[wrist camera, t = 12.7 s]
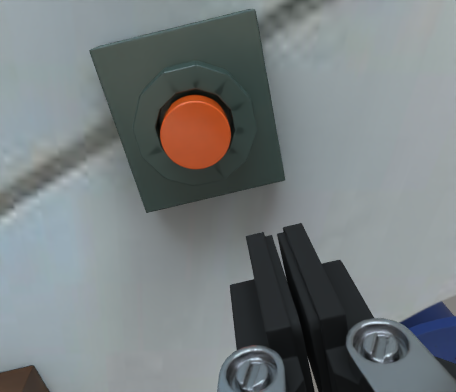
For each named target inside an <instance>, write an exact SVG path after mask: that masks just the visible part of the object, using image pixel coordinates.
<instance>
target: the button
mask: <svg viewBox="0 0 456 392" xmlns="http://www.w3.org/2000/svg"><path fill="white" fill-rule="evenodd" d="M160 140H161V144H162V147H163V149H164V151H165V153H166V154H167V156H168V157H169V158H170V159H171V160H172V161H173V162H175V163H176V164H178V165H180V166H182V167H185V168H188V169H204V168H207V167H210V166H212V165H214V164H216V163H217V162H218V161H220V160H221V159H222V158H223V157H224V155H225V154H226V152H227V150H228V148H229V146H230V142H231V129H230V125H229V122H228V119H227V116H226V113H225V111H224V110H223V108H222V107H221V106H220V105H219V104H218V103H217V102H216V101H214V100H213V99H211V98H209V97H207V96H203V95H197V94H195V95H187V96H184V97H181V98H179V99H177V100H176V101H175V102H173V103H172V104H171V105H170V106H169V108H168V109H167V111H166V113H165V115H164V118H163V121H162V125H161V130H160Z"/></svg>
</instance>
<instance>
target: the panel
mask: <svg viewBox="0 0 456 392" xmlns="http://www.w3.org/2000/svg"><path fill="white" fill-rule="evenodd" d="M0 392H49V391H48V389H47V387H46V386H45V384H44V382H43V381H42V379H41V377H40V376H39V374H38V372H37V371H36V369H35V367H34V366H28V367H24V368H19V369H15V370H11V371H6V372H2V373H0Z"/></svg>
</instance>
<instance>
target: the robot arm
mask: <svg viewBox="0 0 456 392" xmlns="http://www.w3.org/2000/svg"><path fill="white" fill-rule="evenodd" d="M283 231H284V232H283V233H278V234H277V236H278V241H279V245H280V250H281V255H282V260H283V265H284V269H285V274H286V277H285V274H284V271H283V268H282V265H281V262H280V259H279V256H278V253H277V250H276V247H275V244H274V240H273V237H272V235H270V236H265V235H264V232H261V233H257V234H253V235H248V236H246V240H247V245H248V250H249V254H250V259H251V264H252V269H253V274H254V280H249V281H245V282H241V283H236V284H232V285H230V292H231V301H232V311H233V320H234V329H235V338H236V347H237V351H235V352H234V353H232V354H231V355H230V356H229V357H228V358H227V359H226V360H225V362H224V363H223V365H222V367H221V370H220V373H219V381H218V389H217V392H314V387H313V382H312V377H311V372H310V367H309V363H310V366H311V369H312V372H313V375H314V379H315V382H316V385H317V388H318V391H319V392H456V364H454V363H452V362H449V361H446V360H443V359H441V358H438V357H435V356H433V355H432V354H431V353H430V352H429V350H428V349H427V348H426V347H425V346H424V345H423V344H422V343H421V342H420V341H419V340H418V339H417V337H416V336H415V335H414V334H413V333H412V332H411V331H410V330H409V329H407V328H406V327H405V326H404V325H402V324H400V323H398V322H396V321H393V320H388V319H384V318H374V317H373V315H372V313H371V312H370V310H369V308H368V306H367V305H366V303H365V301H364V300H363V298H362V296H361V294H360V293H359V291H358V289H357V287H356V286H355V284H354V282H353V280H352V279H351V277H350V275H349V273H348V272H347V270H346V268H345V266H344V265H343V263H342V262H341V261H340V260H336V261H332V262H327V263H323V264H321V262H320V260H319V258H318V256H317V254H316V252H315V250H314V248H313V246H312V244H311V242H310V239H309V237H308V235H307V233H306V231H305V229H304V227H303V225H302V223H300V224H295V225H291V226H287V227H283ZM286 279H287V280H286ZM307 356H308V357H307ZM308 359H309V362H308Z"/></svg>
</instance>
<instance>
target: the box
mask: <svg viewBox="0 0 456 392" xmlns="http://www.w3.org/2000/svg"><path fill="white" fill-rule="evenodd" d="M90 54H91V57H92V60H93V63H94V66H95V68H96V71H97V74H98V77H99V80H100V83H101V85H102V88H103V91H104V94H105V97H106V100H107V102H108V105H109V108H110V111H111V114H112V117H113V119H114V122H115V125H116V128H117V131H118V134H119V136H120V139H121V142H122V145H123V148H124V151H125V153H126V156H127V159H128V162H129V165H130V168H131V171H132V173H133V176H134V179H135V182H136V185H137V188H138V190H139V193H140V196H141V199H142V202H143V205H144V207H145V210H146V212H147V213H148V212H152V211H157V210H161V209H165V208H169V207H174V206H178V205H182V204H186V203H191V202H195V201H199V200H203V199H208V198H212V197H216V196H220V195H225V194H229V193H233V192H237V191H242V190H246V189H250V188H254V187H259V186H263V185H267V184H271V183H276V182H280V181H284V180H285V176H284V170H283V165H282V159H281V153H280V147H279V142H278V136H277V130H276V125H275V119H274V113H273V108H272V102H271V96H270V90H269V85H268V79H267V73H266V68H265V62H264V56H263V51H262V45H261V39H260V34H259V28H258V22H257V16H256V11H255V10H254V9H248V10H244V11H240V12H236V13H231V14H227V15H223V16H219V17H215V18H211V19H207V20H203V21H199V22H195V23H191V24H187V25H183V26H179V27H175V28H171V29H167V30H162V31H158V32H154V33H150V34H146V35H142V36H138V37H134V38H130V39H126V40H122V41H118V42H114V43H110V44H106V45H102V46H98V47H96V48H93V49H91V50H90ZM195 94H197V95H203V96H207V97H209V98H211V99H213V100H214V101H216V102H217V103H218V104H219V105H220V106H221V107H222V108H223V110H224V111H225V113H226V116H227V119H228V122H229V125H230V129H231V142H230V146H229V148H228V150H227V152H226V154H225V155H224V157H223V158H222V159H221V160H220V161H218V162H217V163H216V164H214V165H212V166H210V167H207V168H204V169H188V168H185V167H182V166H180V165H178V164H176V163H175V162H173V161H172V160H171V159H170V158H169V157H168V156H167V154H166V153H165V151H164V149H163V147H162V144H161V140H160V130H161V125H162V121H163V118H164V115H165V113H166V111H167V109H168V108H169V106H170V105H171V104H172V103H173V102H175V101H176V100H177V99H179V98H181V97H184V96H187V95H195Z"/></svg>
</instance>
